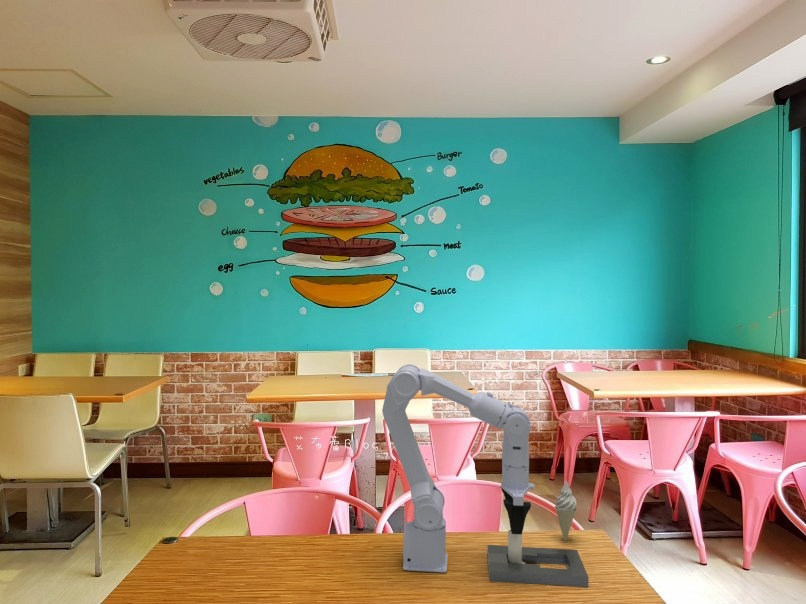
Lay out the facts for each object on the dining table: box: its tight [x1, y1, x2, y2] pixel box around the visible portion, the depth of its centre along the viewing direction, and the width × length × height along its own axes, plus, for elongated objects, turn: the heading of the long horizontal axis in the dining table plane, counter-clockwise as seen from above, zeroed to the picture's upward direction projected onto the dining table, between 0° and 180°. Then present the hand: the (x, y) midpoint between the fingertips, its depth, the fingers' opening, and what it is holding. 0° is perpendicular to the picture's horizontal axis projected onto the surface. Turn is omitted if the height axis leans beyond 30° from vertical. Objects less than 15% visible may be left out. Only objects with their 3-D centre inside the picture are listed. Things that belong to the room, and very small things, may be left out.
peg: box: [507, 529, 527, 564], centre depth 121 cm, size 5×5×8 cm
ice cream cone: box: [554, 479, 577, 542], centre depth 135 cm, size 5×5×15 cm
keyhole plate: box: [486, 544, 589, 588], centre depth 121 cm, size 20×12×2 cm, turn 83°
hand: (515, 525), depth 121 cm, fingers open, 7 cm apart
